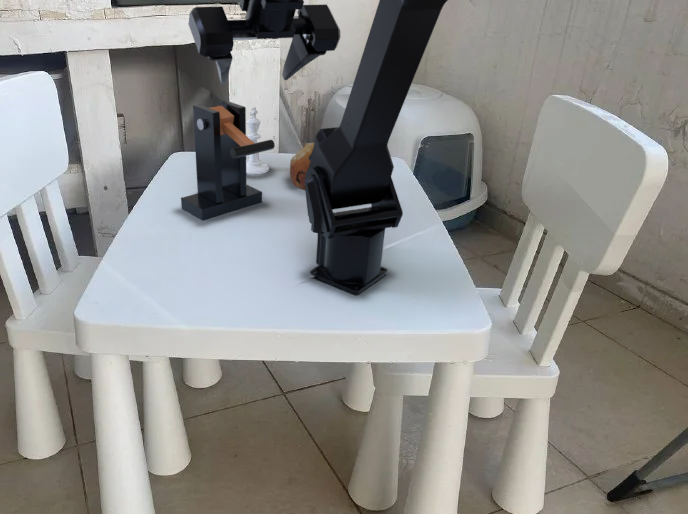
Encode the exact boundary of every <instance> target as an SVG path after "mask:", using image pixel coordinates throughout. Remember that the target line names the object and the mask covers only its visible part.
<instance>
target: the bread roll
mask: <svg viewBox="0 0 688 514" xmlns="http://www.w3.org/2000/svg"><path fill="white" fill-rule="evenodd" d="M313 147H314V142H306V143H305V144H304V145H303V147H302V148H301V149H299V150H298V151H297V152H296V153H295V154H294V155H293V156H292V157H291V158H290V163H289V178H290V180H291V183H292V184H293V186H294V187H296V188H297V189H300V190H303V191H305V182H304V179H305V176H306V172H307V170H308V168H309V165H310V162H311V161H309V156H310V155H311V153H312V151H313Z"/></svg>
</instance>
